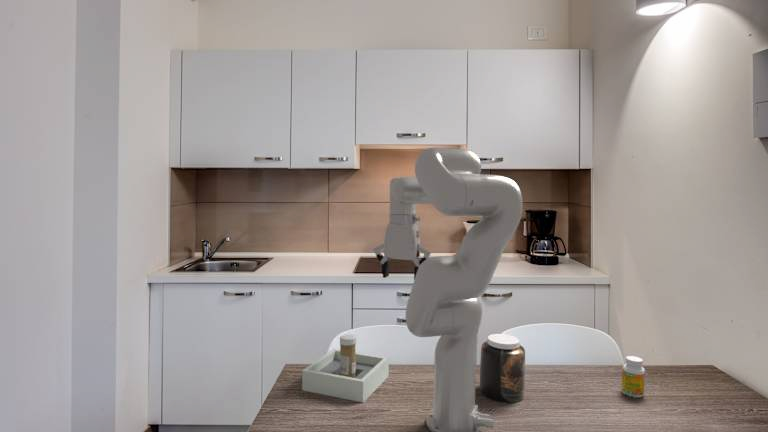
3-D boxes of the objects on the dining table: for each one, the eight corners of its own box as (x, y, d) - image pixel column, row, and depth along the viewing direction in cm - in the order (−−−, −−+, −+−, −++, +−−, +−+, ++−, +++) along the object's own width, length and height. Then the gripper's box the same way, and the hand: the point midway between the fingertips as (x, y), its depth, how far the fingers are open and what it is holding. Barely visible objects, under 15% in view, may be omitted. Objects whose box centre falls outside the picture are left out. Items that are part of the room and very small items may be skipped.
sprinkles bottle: (358, 384, 131) (359, 337, 130) (344, 388, 129) (344, 340, 128) (350, 378, 135) (351, 332, 134) (336, 382, 133) (336, 335, 132)
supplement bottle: (621, 395, 127) (622, 360, 126) (621, 387, 132) (623, 353, 131) (643, 399, 124) (645, 363, 124) (643, 391, 129) (645, 357, 129)
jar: (474, 397, 124) (476, 341, 123) (484, 380, 135) (486, 329, 134) (520, 406, 120) (522, 349, 118) (527, 388, 130) (529, 335, 129)
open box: (388, 376, 137) (388, 357, 137) (363, 402, 121) (363, 381, 120) (333, 366, 144) (333, 348, 143) (302, 390, 127) (302, 370, 127)
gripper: (434, 220, 137) (433, 278, 138) (379, 218, 144) (378, 273, 145) (427, 222, 130) (425, 283, 131) (369, 219, 137) (369, 278, 138)
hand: (401, 278), depth 138 cm, fingers open, 9 cm apart
